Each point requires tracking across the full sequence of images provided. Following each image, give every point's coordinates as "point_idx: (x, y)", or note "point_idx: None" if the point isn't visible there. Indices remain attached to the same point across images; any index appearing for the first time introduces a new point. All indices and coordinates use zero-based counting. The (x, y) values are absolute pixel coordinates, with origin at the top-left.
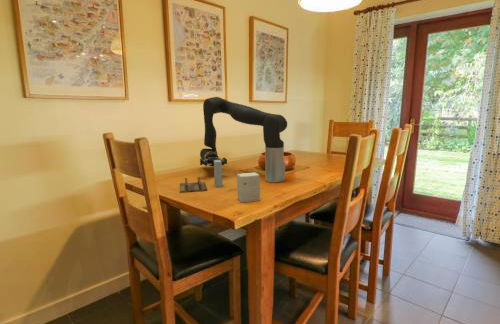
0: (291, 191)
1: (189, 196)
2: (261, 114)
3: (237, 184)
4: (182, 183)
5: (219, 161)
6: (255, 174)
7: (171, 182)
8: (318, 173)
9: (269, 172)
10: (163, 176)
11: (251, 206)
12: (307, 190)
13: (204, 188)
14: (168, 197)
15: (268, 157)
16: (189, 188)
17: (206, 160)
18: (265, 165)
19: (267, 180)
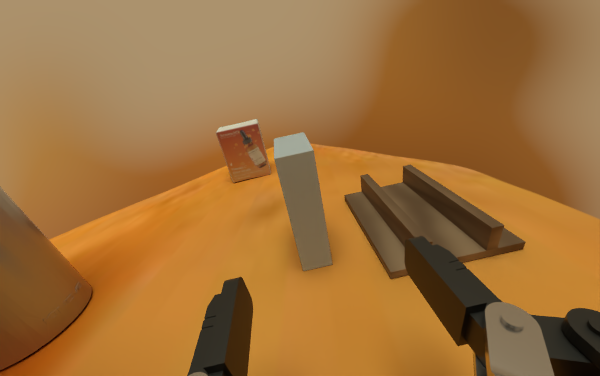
0: (140, 211)
1: (379, 170)
2: None
3: (263, 144)
4: (508, 242)
5: (282, 141)
6: (224, 127)
7: None
8: None
9: (63, 258)
10: None
11: None
12: (102, 219)
13: (355, 197)
14: (432, 161)
15: (4, 198)
16: (409, 193)
17: (487, 340)
18: (14, 262)
19: (87, 293)
